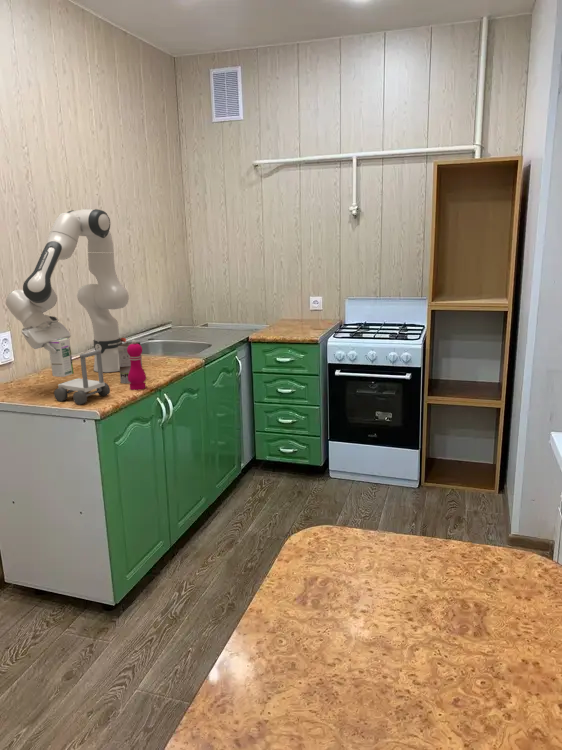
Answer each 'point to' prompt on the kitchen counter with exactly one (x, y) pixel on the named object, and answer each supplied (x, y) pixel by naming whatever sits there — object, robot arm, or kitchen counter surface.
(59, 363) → the syrup box
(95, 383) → the hand trolley
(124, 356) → the coffee box
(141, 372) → the pepper mill
